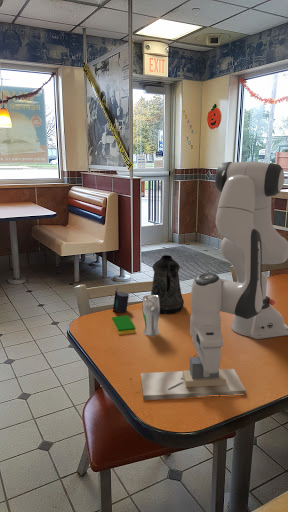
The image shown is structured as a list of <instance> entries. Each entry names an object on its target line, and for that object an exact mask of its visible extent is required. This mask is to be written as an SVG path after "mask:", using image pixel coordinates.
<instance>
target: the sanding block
mask: <svg viewBox="0 0 288 512" xmlns="http://www.w3.org/2000/svg"><path fill="white" fill-rule="evenodd" d="M182 371H183V379H184V382H185V385H186V387H202V386H222V385H226V378H225V376H224V374H223V372H222V369H221V368H219V371H218V373H214V374H210V375H209V377H204V376H203V366H202V363H201V361H200V358H199V357H198V356H191V357H189V369H188V370H186V369H184V370H182Z"/></svg>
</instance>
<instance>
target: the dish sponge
mask: <svg viewBox="0 0 288 512" xmlns="http://www.w3.org/2000/svg"><path fill="white" fill-rule="evenodd" d="M111 320H112V321H111V322H112V324H113V327H114V328H115V330H116V332H117V334H118V335H127V334H128V335H129V334H135V333H136V329H137V327H136V326H135V325H134V323H133V321H132V319H131V318H130V315H128V314H127V315H119V316H112V317H111Z"/></svg>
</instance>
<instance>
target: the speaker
mask: <svg viewBox="0 0 288 512" xmlns="http://www.w3.org/2000/svg"><path fill="white" fill-rule="evenodd" d="M118 289H119V287H118V286H116V288H115V291H114V292H115V293H114V301H113V309H112V312H113V313H114V311H116V312H117V313H122V314H123V313H126V312H127V309H128V304H129V298H130V297H129V296H130V295H129V293H127V292H125V291H118Z"/></svg>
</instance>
